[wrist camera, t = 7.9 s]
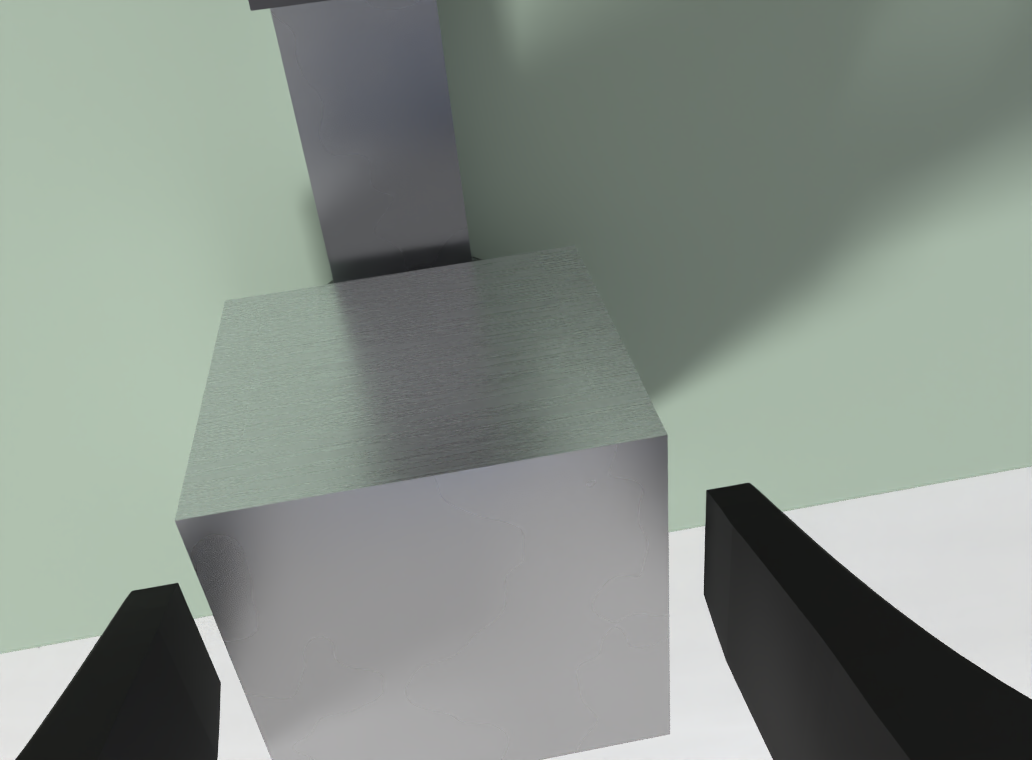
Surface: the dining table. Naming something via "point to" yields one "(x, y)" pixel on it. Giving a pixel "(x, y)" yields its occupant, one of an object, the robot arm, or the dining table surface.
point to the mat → (524, 244)
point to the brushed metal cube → (435, 516)
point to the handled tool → (375, 132)
